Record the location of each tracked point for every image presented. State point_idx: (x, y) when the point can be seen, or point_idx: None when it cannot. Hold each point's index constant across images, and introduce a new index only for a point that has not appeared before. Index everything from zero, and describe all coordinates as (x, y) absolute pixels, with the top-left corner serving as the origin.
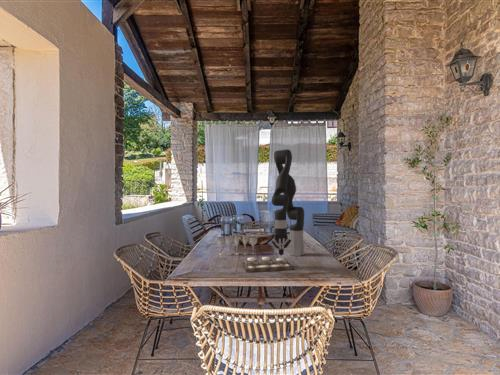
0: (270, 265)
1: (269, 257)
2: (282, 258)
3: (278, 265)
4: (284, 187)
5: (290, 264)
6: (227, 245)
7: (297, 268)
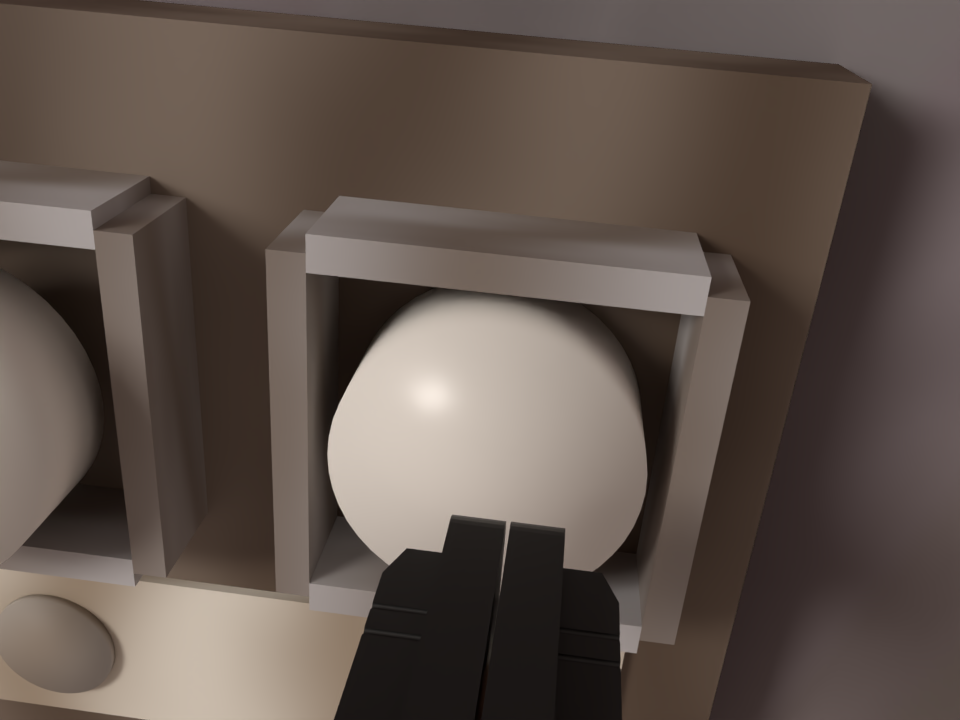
0: (97, 654)
1: (12, 488)
2: (588, 444)
3: (319, 689)
4: None
5: (701, 678)
6: None
7: (832, 705)
